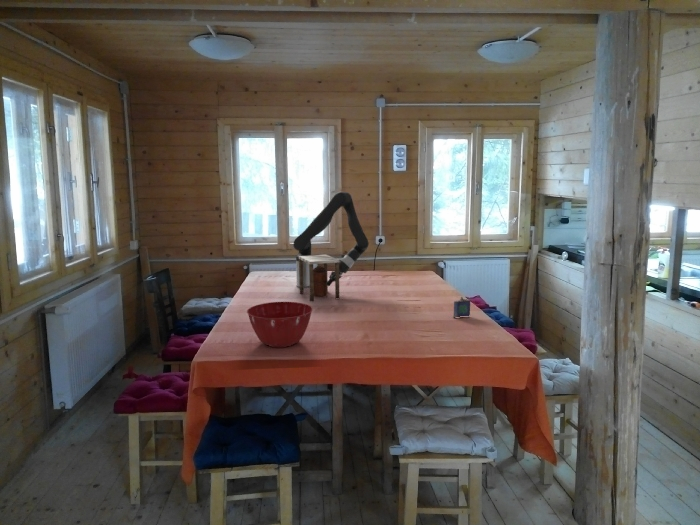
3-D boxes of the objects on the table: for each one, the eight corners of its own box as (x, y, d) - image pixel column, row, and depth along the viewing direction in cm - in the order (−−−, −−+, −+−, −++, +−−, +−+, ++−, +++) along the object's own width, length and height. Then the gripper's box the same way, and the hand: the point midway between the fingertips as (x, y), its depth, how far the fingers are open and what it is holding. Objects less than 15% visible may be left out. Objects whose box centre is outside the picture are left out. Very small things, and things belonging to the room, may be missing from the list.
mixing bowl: (313, 352, 229) (312, 316, 227) (244, 354, 227) (243, 318, 224) (312, 333, 257) (312, 300, 254) (251, 334, 255) (250, 302, 252)
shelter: (299, 293, 344) (298, 256, 341) (327, 290, 351) (326, 254, 347) (310, 301, 322) (309, 261, 318) (340, 298, 328) (339, 259, 324)
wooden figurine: (330, 295, 338) (330, 266, 335) (325, 297, 332) (324, 268, 329) (314, 293, 343) (313, 265, 340) (308, 295, 338) (308, 266, 335)
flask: (455, 318, 280) (455, 298, 278) (452, 317, 283) (452, 297, 281) (470, 317, 283) (471, 297, 281) (467, 316, 285) (468, 295, 284)
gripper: (337, 258, 344) (319, 279, 342) (345, 261, 332) (326, 283, 329) (345, 266, 347) (328, 287, 344) (353, 269, 335) (335, 290, 332)
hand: (327, 285), depth 337 cm, fingers closed
